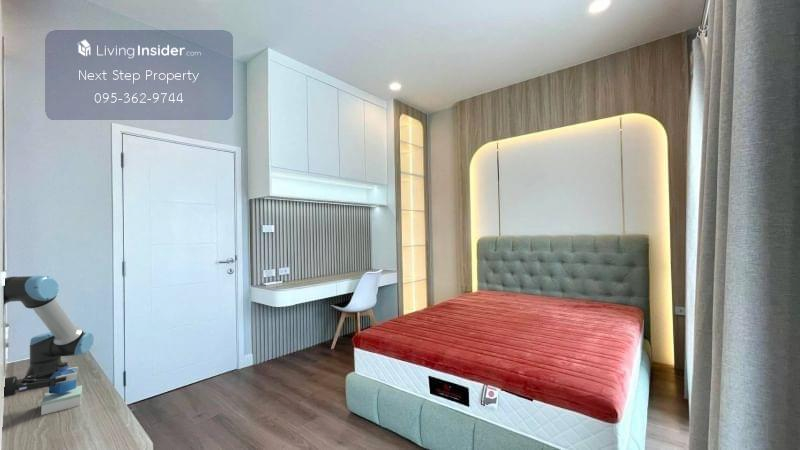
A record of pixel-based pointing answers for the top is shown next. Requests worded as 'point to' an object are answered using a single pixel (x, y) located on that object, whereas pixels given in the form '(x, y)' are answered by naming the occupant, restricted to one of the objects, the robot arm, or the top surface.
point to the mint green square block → (61, 400)
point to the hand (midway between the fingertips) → (77, 372)
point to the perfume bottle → (62, 386)
